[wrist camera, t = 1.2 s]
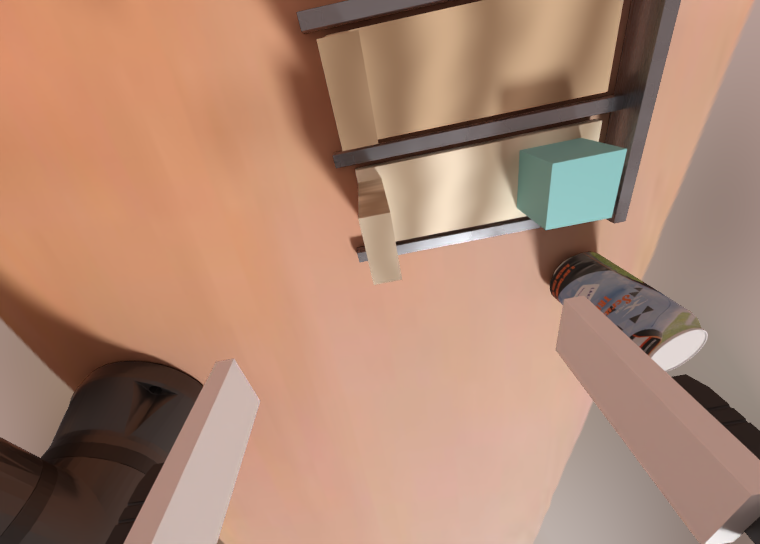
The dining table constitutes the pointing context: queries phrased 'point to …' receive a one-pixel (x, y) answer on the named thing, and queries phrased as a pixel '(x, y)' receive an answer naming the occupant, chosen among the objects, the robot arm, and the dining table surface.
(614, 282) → the beverage can
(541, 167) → the block
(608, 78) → the strip oak
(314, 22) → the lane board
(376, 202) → the beige long angled piece
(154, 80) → the dining table surface
